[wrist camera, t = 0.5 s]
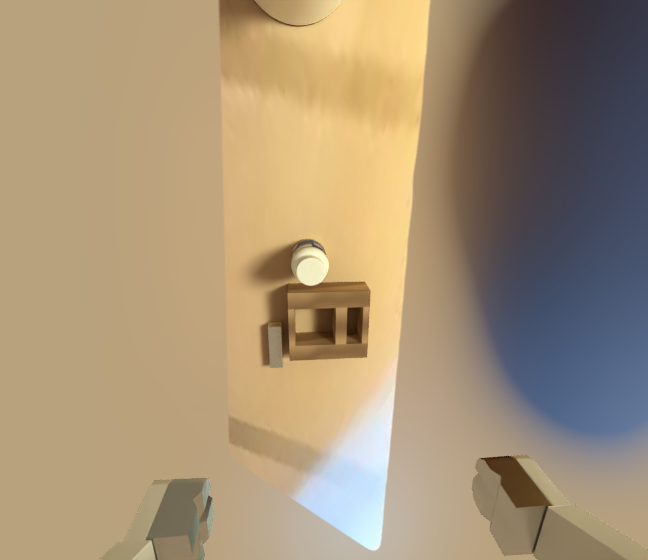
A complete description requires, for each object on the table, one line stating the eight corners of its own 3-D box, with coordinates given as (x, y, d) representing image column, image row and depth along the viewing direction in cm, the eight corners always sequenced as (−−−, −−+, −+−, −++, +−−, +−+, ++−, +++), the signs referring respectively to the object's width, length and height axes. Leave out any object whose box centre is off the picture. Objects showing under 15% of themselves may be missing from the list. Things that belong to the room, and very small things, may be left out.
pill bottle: (330, 261, 53) (337, 280, 44) (301, 275, 53) (302, 297, 44) (316, 232, 51) (320, 245, 42) (286, 246, 51) (284, 263, 42)
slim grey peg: (268, 321, 56) (267, 327, 54) (281, 320, 56) (281, 326, 54) (270, 360, 58) (269, 367, 56) (283, 360, 59) (282, 367, 56)
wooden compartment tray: (288, 283, 53) (287, 293, 49) (364, 281, 54) (370, 291, 50) (290, 346, 57) (289, 360, 53) (361, 343, 58) (366, 357, 54)
